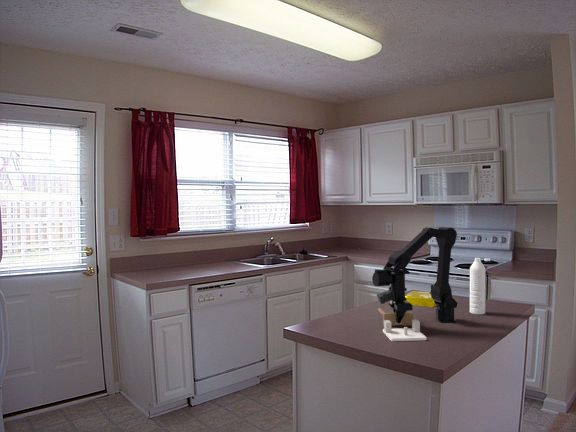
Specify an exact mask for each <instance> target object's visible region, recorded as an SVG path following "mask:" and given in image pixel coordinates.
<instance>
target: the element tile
mask: <svg viewBox="0 0 576 432" xmlns="http://www.w3.org/2000/svg"><path fill="white" fill-rule="evenodd" d="M405 298H407V301H408V302H409V303H411V304H412V305H413V306H418V307H426V308H427V307H428V308H435V307H437V304H435V302H434V300H433V299H432V297H431V294H430V291H429V292H427V291H418V290H411V291H410V292H408V293H405Z"/></svg>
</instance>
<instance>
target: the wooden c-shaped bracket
mask: <svg viewBox="0 0 576 432" xmlns="http://www.w3.org/2000/svg"><path fill="white" fill-rule="evenodd" d="M377 311H378V312H379V313H380V314H381V315H382V326H384V320H389V321H390V322H391V327H395V326H396V320H395V319H397V318H396V313H394V312H385V311H384V310H383V309H382V308H381V307H378V308H377ZM412 320H414V313H413V312H412V310H409V311H406V313H405V314H404V316H403V319H402V321H401V323H400V325H401V326H404V327H408V326H412Z"/></svg>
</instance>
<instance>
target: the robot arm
mask: <svg viewBox="0 0 576 432" xmlns="http://www.w3.org/2000/svg"><path fill="white" fill-rule="evenodd" d="M457 236H458V232H457V230H456V229H455V228H453V227H450V226H449V227H448V226H440V227H438V228H433V227H428V226H426V227H424V228H422V230H421V231H420V232H419V233H418V234H417V235H416V236H415V237H413V239H411V240H410V241H409V243H407V244H406V245H405V246H404V247H403V248H401V249H399V250H396V251H395V252H393V253H392V254H390V255H389V256H388V260H387V262H386V264H385V265H384V267H383V269H378V268H377V269H374V271H373V272H374V273H373V274H372V277H371V280H372V284H373V286H374V287H386V286H389V287H388V290H385V291H382V292H380V293H377V294H376V298H377V301H378V302H379V303H380V305H384V304H385V303H388V302H390V303H388V305H389V307H391V309H392V313H396V318H397V319H395V323H397V324H401V321H402V319H403V316H404V314H405V313H406V311H413V308H414V307H413V306H414V305H412V304H411V303H409V302H408V301H407V298H405V295H406V291H407V290H408V289H407V288H406V275H410V274H411V271H410V270H408V269H407V266H409V264H410V263H411V260H412V257H413V256H414V255H415V254H416V253H418V251H420V249H421V248H422V247H424V245H426V243H428V242H429V241H430V240H431V239H432V238H435V241H436V243H437V246H438V254H437V255H438V256H437V257H438V258H437V270H436V271H437V272H436V281H435V283H434V284H430V291H429V293H430V294H431V297H432V299H433V300H434V302H435V304H437V305H436V308H435V319H436V320H437V321H438V322H441V323H456V322H457V320H456V319H455V309H457V306H458V302H457V300H455V298H454V297H453V293H452V292H453V291H452V287H451V285H450V273H451V272H450V269H451V258H452V249H453V247H454V245H455V244H456V241H457Z"/></svg>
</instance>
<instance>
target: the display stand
mask: <svg viewBox="0 0 576 432" xmlns="http://www.w3.org/2000/svg"><path fill="white" fill-rule="evenodd" d="M382 332H383V334H384V335H385V336H386V337H387V338H388V339H389V340H390V341H391V342H409V341H411V342H412V341H415V342H416V341H419V342H420V341H427V340H428V338H427V336H426V335H424V333H422V332H421V321H419V319H413V320H412V325H411V327H410V328H409V327H408V326H404V327H403V328H402V327H401V328H392V326H391V322H390V321H389V320H384V325H383V328H382Z"/></svg>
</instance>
